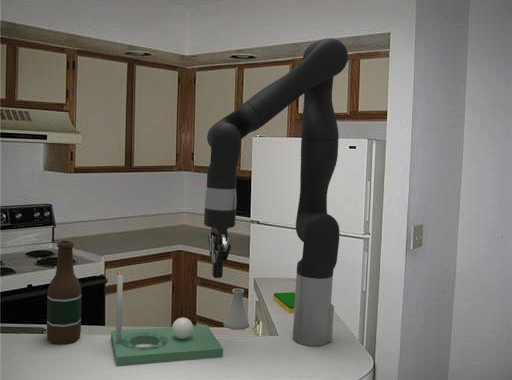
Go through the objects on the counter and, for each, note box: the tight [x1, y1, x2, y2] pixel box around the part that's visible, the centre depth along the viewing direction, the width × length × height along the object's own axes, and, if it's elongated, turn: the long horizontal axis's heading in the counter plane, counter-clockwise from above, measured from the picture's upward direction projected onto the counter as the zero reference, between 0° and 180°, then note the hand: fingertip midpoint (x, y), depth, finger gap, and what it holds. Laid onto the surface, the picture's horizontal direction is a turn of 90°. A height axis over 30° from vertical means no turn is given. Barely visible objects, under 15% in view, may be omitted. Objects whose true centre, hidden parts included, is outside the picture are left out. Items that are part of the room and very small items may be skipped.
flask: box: [223, 288, 250, 331], centre depth 151 cm, size 7×7×10 cm
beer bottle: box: [46, 240, 82, 345], centre depth 135 cm, size 8×8×24 cm
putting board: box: [110, 269, 224, 367], centre depth 133 cm, size 24×16×18 cm, turn 109°
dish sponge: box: [272, 291, 295, 314], centre depth 171 cm, size 7×14×2 cm, turn 19°
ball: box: [171, 317, 194, 339], centre depth 135 cm, size 5×5×5 cm
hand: (217, 277), depth 136 cm, fingers closed
